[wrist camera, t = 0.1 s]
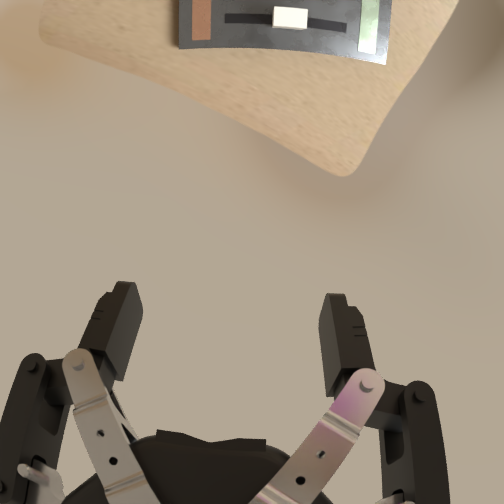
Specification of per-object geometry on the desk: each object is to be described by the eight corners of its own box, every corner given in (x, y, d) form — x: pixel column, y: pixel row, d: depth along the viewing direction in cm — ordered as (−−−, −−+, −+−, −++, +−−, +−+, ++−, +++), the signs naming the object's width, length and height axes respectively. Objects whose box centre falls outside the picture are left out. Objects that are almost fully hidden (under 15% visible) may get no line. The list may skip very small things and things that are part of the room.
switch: (272, 11, 26) (274, 6, 22) (301, 13, 26) (307, 9, 22) (272, 27, 27) (273, 25, 23) (300, 30, 27) (306, 28, 23)
